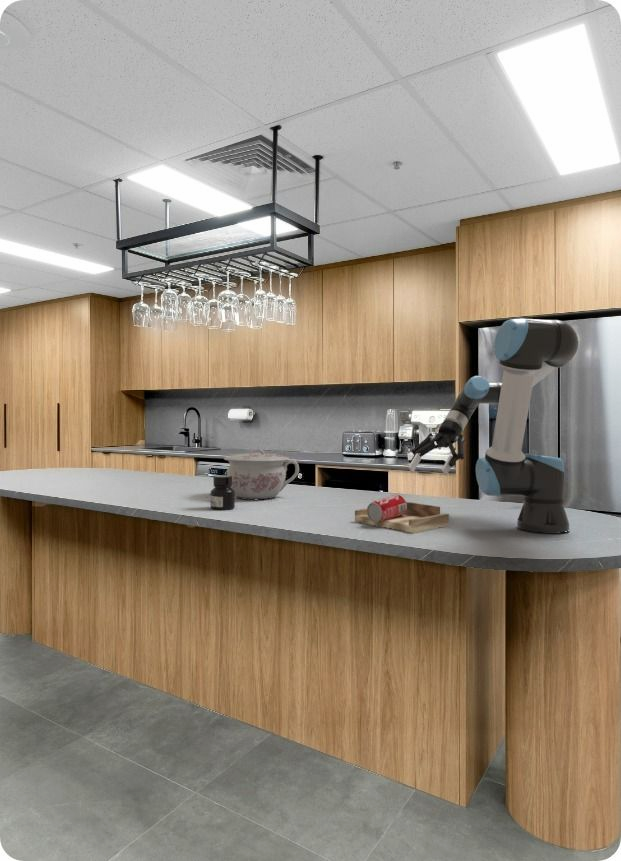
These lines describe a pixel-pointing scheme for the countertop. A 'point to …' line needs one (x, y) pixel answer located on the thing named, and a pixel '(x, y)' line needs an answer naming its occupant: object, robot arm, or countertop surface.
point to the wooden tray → (410, 518)
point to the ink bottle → (222, 493)
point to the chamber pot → (259, 474)
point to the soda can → (387, 508)
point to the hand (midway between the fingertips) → (426, 471)
